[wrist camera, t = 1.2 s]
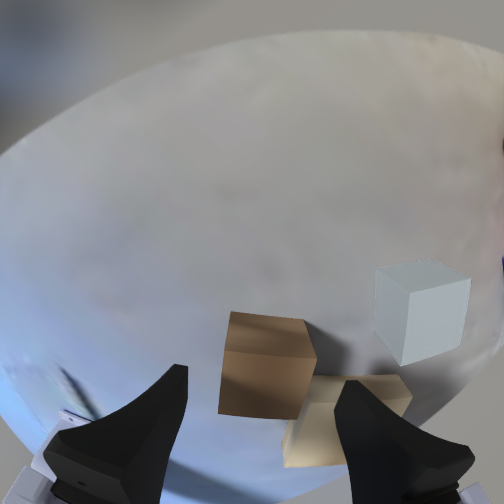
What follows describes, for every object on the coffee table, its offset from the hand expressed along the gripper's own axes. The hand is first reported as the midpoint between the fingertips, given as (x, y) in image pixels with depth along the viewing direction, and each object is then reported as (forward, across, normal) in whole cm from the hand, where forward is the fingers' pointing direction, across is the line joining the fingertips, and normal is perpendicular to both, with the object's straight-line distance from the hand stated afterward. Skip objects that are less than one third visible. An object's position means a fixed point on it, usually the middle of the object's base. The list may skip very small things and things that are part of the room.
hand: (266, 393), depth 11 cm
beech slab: (+5, -6, +6) cm, 10 cm away
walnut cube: (+4, 0, 0) cm, 4 cm away
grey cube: (+4, -8, -4) cm, 10 cm away
